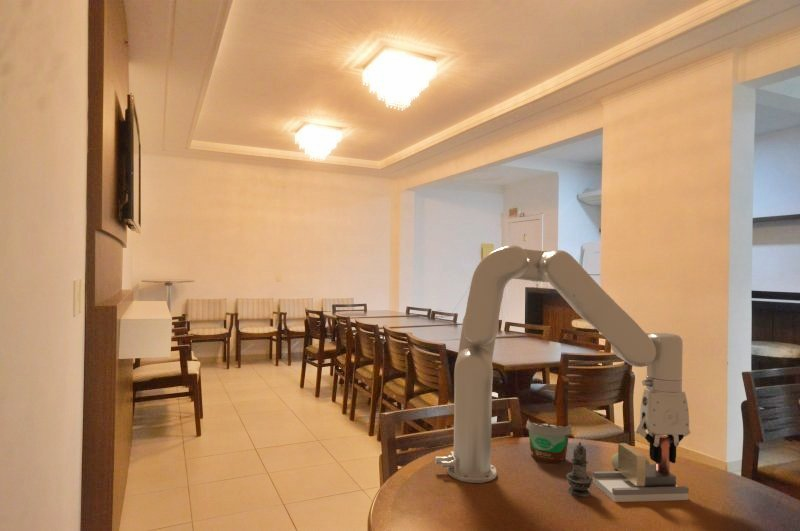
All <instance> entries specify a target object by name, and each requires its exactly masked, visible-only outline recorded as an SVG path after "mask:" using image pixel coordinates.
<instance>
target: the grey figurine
mask: <svg viewBox="0 0 800 531" xmlns="http://www.w3.org/2000/svg"><path fill="white" fill-rule="evenodd" d="M571 462H572V470H571V472H568V473H567V474H566V475H565V477H566V478H567V482H568V485H569V486H570V487H568V488H567V490H566V491H567V493H568V494H569V495H571V496H573V497H575V496H576V498H580V497H581V498H580V499H583V498H584V499H587V498H589V497H591V496H592V493H591V492H590V490H588V489H589V488H590V487H591V485H592V483H593V477H592V476H590V475H588V472H587V465H588V461H587V449H586V447H585V446H584V445H582V442H581V441H579V442H578V444H577V445H575V446H574V447H573V458H572V459H571Z"/></svg>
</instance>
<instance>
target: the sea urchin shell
mask: <svg viewBox="0 0 800 531" xmlns="http://www.w3.org/2000/svg"><path fill="white" fill-rule="evenodd" d="M611 465H612V467H613V468H614V469H615V470H616V471H618V451H616V452H615V453H614V454H613V455H612V457H611ZM645 465H651V464H650V461H649V459H648V457H646V456H645Z"/></svg>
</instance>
